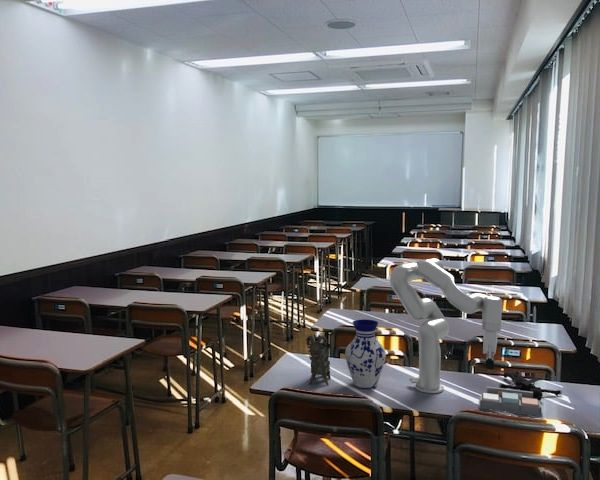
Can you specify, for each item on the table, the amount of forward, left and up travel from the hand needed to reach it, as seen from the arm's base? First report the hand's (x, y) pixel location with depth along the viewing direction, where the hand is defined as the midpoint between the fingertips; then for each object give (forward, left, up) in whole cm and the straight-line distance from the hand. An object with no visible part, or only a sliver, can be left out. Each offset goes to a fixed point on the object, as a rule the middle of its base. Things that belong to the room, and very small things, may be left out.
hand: (489, 368), depth 215 cm
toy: (+15, +22, -16) cm, 31 cm away
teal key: (+8, -2, -13) cm, 16 cm away
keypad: (+8, 0, -16) cm, 18 cm away
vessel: (-77, +2, -16) cm, 78 cm away
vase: (-55, +5, -16) cm, 57 cm away
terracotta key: (+16, -2, -14) cm, 21 cm away
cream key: (+1, -2, -14) cm, 15 cm away
